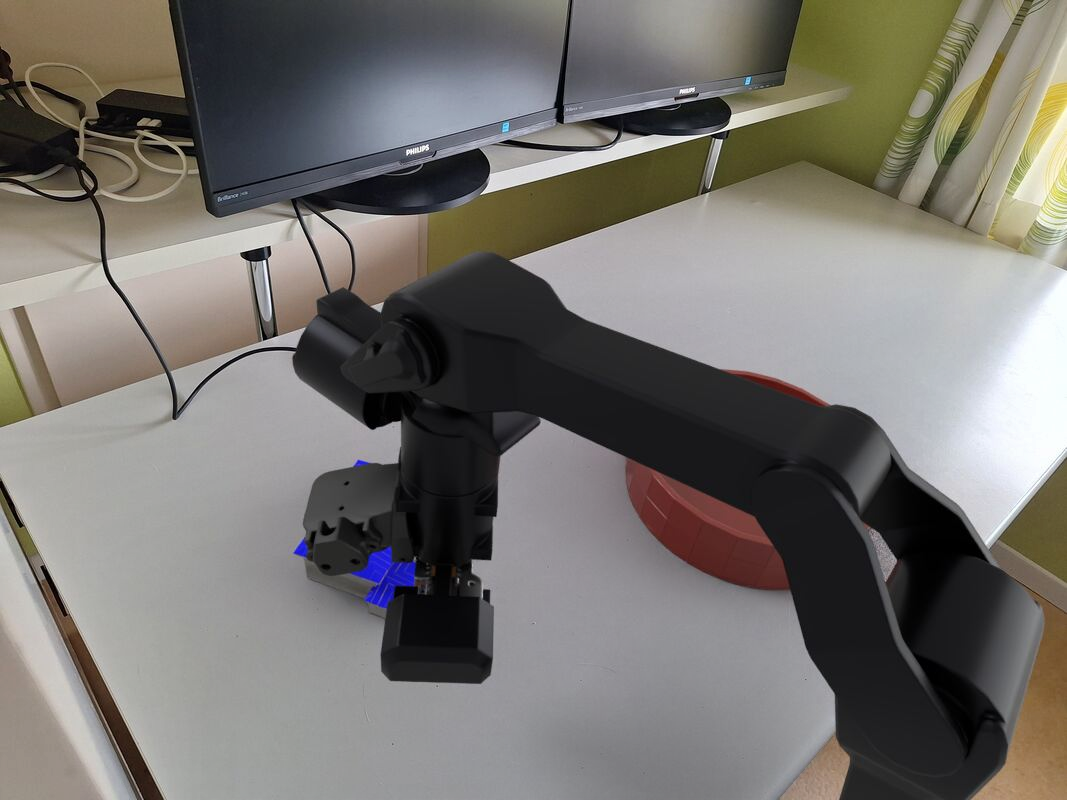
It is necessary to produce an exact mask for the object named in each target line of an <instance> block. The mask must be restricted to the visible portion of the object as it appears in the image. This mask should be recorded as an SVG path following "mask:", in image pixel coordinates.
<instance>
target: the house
mask: <svg viewBox="0 0 1067 800" xmlns="http://www.w3.org/2000/svg"><path fill="white" fill-rule="evenodd" d="M370 463H371V462H369V461H365V460H362V459H357V460H356V461H355V463H354V465H353V466H352V467H354V466H360V465H365V464H370ZM304 539H305V536H304V537H303V539H302V540H301V541H300V542H299V544H298V545H297V547H296V549H295V550H294V551H293V555H294V556H298V557H300V558H303V560H304V568H305V574H306V575H305V576H306V578H307V579H309V580H312V581H315V582H318V583H321V584H324V585H325V586H329V587H331V588H334V589H337V590H340V591H342V592H345V593H348V594H351V595H353V596H356V597H359V598H362V599H364V600H363V601H364V602H367V603H368V613H370V614H372V615H375V616H378V617H381V618H384V619H385V618H386V611H387V604H388V602H389V601H391V600H393V596H394V588H395V585H399V586H414V580H415V579H414V574H415V565H416V561H413V562H412V563H398V562H392V558H391V547H388V548H387V549H385V550H383V551H380V552H376V553H372V554H371V555H370V557H369V560H368V566H367V567H366V569H365V570H363V571H360V572H354V573H348V574H343V575H337V576H328V575H324V574H322V573H321V572H320V570H319V569H318V568H317V566H316V565H315V563H314V562H311V561H309V560H307V558H306V554H307V550H308V549H307V545H306V544H305V543H304Z"/></svg>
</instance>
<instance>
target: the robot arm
mask: <svg viewBox="0 0 1067 800" xmlns="http://www.w3.org/2000/svg"><path fill="white" fill-rule="evenodd" d="M316 311H317V313H316V316H314V317H313V319H311V321H310V322H309V323H308V324H307V326H306V327H305V329H304V331H302V333H301V335H300V337H299V339H298V342H297V345H296V348H295V352H294V353H293V354H292V357H291V359H292V360H291V361H292V368H293V371H294V373H295V375H296V376H297V378H298V379H299V380H300V381H301V382H303V383H304V384H306V385H307V386H309V387H310V388H311V389H313V390H314V391H316V392H317V393H318V394H319V395H321V396H323V397H324V398H326V399H327V400H328V401H330V402H331V403H333V404H334V405H336V406H337V408H340V409H341V410H342V411H344V412H345V413H347V414H348V415H350V416H351V417H352V418H353V419H355V420H357V421H358V422H359V423H361V424H362V425H364V426H365V427H366V428H368V429H369V430H371V431H375V430H377V429H378V428H383V427H386V426H388V425H390V424H392V423H398V422H400V447H399V450H398V451H399V453H398V460H397V462H394V463H384V464H382V463H379V462H369V463H370V464H365V465H360V466H354V465H353V466H354V467H353V466H350V467H349V466H348V467H345V468H339V469H335V470H334V469H333V470H329V471H326V472H324V473H322V474H320V475H319V476H318V477H317V478H315V480H314V481H313V483H312V485H311V489H310V492H309V496H308V500H307V503H306V509H305V512H304V516H303V520H302V527H303V529H304V530H305V534H304V537H305V539H304V538H303V539H304V543H305V544H306V545H307V549H308V550H307V554H306V558H307V560H309V561H311V562H314V563H315V565H316V566H317V568H318V569H319V570H320V572H321V573H322V574H324V575H328V576H337V575H343V574H348V573H354V572H360V571H363V570H365V569H366V567H367V566H368V560H369V557H370V555H371V554H372V553H376V552H380V551H383V550H385V549H387V548H388V547H391V558H392V562H398V563H412V562H414V558H415V562H416V565H415V574H414V579H415V581H417V582H427V583H426V586H425V585H419V586H399V585H395V588H394V596H393V600H391V601H389V602H388V604H387V611H386V618H384V627H383V634H382V640H381V647H380V672H381V673H382V675H384V676H385V677H386V678H387V679H388V681H389V682H404V683H405V682H407V683H434V684H436V683H437V684H466V685H467V684H470V685H482V683H484V682H485V681H486V680H487V679H488V678H489V677H491V675H492V669H493V660H494V625H495V623H494V622H495V620H494V619H495V614H494V613H495V606H494V605H492V604H491V589H488V588H487V589H486V588H484V582H483V579H482V578H481V577H480V576H479V575H476V574H475V573H474V567H473V566H474V560H475V561H477V560H478V561H492V557H493V542H494V540H493V539H494V524H493V523H494V518H497V517H498V516H497V515H498V508H499V473H500V464H501V457H502V456H503V455H504V454H506V453H507V452H508V451H509V450H510V449H512V448H513V447H514V446H515V445H516V444H518V443H519V442H520V441H522V440H523V439H524V438H526V437H527V436H528V435H529V434H530V433H531V432H533V431H534V430H535V429H537V428H538V427H539V426H541V423H542V422H541V421H542V420H541V419H543V420H545V421H547V422H549V423H552V424H553V425H555V426H558V427H559V428H562V429H564V430H567V431H569V432H571V433H573V434H575V435H577V436H578V437H579V436H580V437H582V438H584V439H586V440H588V441H590V442H592V443H594V444H597V445H599V446H600V447H603V448H604V449H608V450H609V451H611V452H614V453H616V454H618V455H619V456H622V457H624V458H626V459H627V458H629V459H631V460H633V461H635V462H637V463H640V464H642V465H644V466H646V467H648V468H650V469H652V470H655V471H657V472H659V473H661V474H663V475H665V476H668V477H670V478H672V479H674V480H676V481H678V482H680V483H683V484H685V485H687V486H689V487H691V488H693V489H696V490H698V491H700V492H702V493H704V494H706V495H708V496H711V497H713V498H715V499H717V500H719V501H721V502H724V503H726V504H728V505H730V506H732V507H734V508H737V509H739V510H741V511H743V512H745V513H747V514H749V515H752V516H754V517H755V518H756V520H757V522H758V524H759V525H760V527H761V528H762V530H763V531H764V533H765V534H766V536H767V537H768V539H769V540H770V542H771V543H772V545H773V546H774V548H775V549H776V551H777V552H778V554H779V555H780V557H781V558H782V561H783V564H784V568H785V572H786V575H787V579H788V583H789V587H790V594H791V597H792V602H793V606H794V610H795V613H796V616H797V620H798V624H799V628H800V631H801V635H802V639H803V643H804V647H805V649H806V651H807V654H808V656H809V658H810V660H811V662H813V663H812V664H814V665H815V667H816V668H817V670H818V672H819V673H820V675H821V676H822V677H823V680H825V682H826V683H827V685H828V686H829V688H830V690H831V691H832V692H833V694H834V719H835V721H834V722H835V723H834V724H835V726H834V727H835V739H836V741H837V743H838V745H839V747H840V748H841V749H842V751H844V753H845V754H846V755H847V756H848V757H849V765H848V769H847V772H846V774H845V778H844V782H843V785H842V788H841V792H840V796H839V798H838V800H973V798H974V797H975V796H977V795H978V794H979V793H980V791H982V790H983V789H984V788H985V787H986V785H988V784H989V783H990V782H991V781H992V780H993V779H994V778H995V777H996V776H997V775H998V774H999V773H1000V772H1001V771H1002V769H1003V768H1004V766H1005V765H1006V762H1007V760H1008V755H1009V753H1010V749H1011V745H1012V742H1013V739H1014V735H1015V733H1016V728H1017V725H1018V721H1019V718H1020V714H1021V711H1022V707H1023V704H1024V702H1025V701H1024V700H1025V697H1026V694H1027V690H1028V686H1029V683H1030V681H1031V676H1032V673H1033V669H1034V666H1035V662H1036V660H1037V657H1038V652H1039V650H1040V646H1041V642H1042V638H1043V636H1044V632H1045V631H1044V629H1045V623H1046V617H1045V614H1044V610H1043V606H1042V605H1041V603H1039V602H1038V601H1037V600H1035V599H1033V597H1032V595H1031V594H1030V593H1029V591H1028V590H1027V589H1026V587H1025V586H1024V585H1022V583H1020V582H1019V581H1018V580H1016V579H1015V578H1014V577H1012V576H1011V575H1010V574H1009V573H1008V572H1006V571H1005V570H1003V569H1002V568H1001V567H1000V565H999V563H998V561H997V560H996V559H995V557H994V555H993V554H992V552H991V551H990V550H989V548H988V546H987V545H986V543H985V542H984V540H983V539H982V537H981V535H980V534H979V532H978V531H977V529H976V527H975V526H974V525H973V523H972V522H971V520H970V518H969V517H968V515H967V513H966V512H965V511H964V510H963V508H962V507H961V506H960V505H959V504H958V503H957V502H956V501H954V500H953V499H952V498H950V497H949V496H947V495H946V494H944V493H943V492H942V491H941V490H939V489H938V488H936V487H935V486H934V485H932V484H931V483H930V482H928V481H927V480H926V479H924V478H923V477H922V476H920V475H919V474H918V473H916V472H915V471H913V470H912V469H911V468H910V467H909V466H908V465H907V464H906V462H905V461H904V459H903V457H902V456H901V454H900V453H899V451H898V449H897V448H896V447H895V445H894V443H893V442H892V441H891V439H890V438H889V435H888V434H887V432H886V431H885V430H884V429H883V428H882V427H881V426H880V425H879V424H878V422H877V421H876V420H875V419H874V418H873V417H872V416H871V415H869V414H867V413H865V412H863V411H862V410H860V409H858V408H856V407H852V406H848V405H843V404H838V403H835V404H830V405H829V406H820V405H816V404H813V403H810V402H807V401H805V400H802V399H799V398H797V397H794V396H791V395H788V394H786V393H783V392H780V391H778V390H775V389H772V388H769V387H767V386H764V385H761V384H759V383H756V382H753V381H750V380H748V379H745V378H742V377H740V376H737V375H734V374H731V373H729V372H726V371H723V370H721V369H722V368H718V367H715V366H713V365H711V364H708V363H704V362H701V361H699V360H696V359H693V358H691V357H688V356H685V355H683V354H679V353H677V352H674V351H671V350H668V349H666V348H663V347H661V346H658V345H656V344H653V343H650V342H647V341H645V340H641V339H639V338H636V337H634V336H631V335H628V334H626V333H623V332H620V331H618V330H615V329H612V328H609V327H606V326H604V325H601V324H598V323H596V322H593V321H590V320H588V319H585V318H583V317H582V316H580V315H578V314H577V313H574V312H573V311H571V310H569V309H567V307H566V305H565V304H564V302H562V300H561V299H560V297H559V296H558V294H557V293H556V291H555V290H554V288H553V286H552V285H551V284H550V283H549V282H548V281H546V280H545V279H544V278H542V277H541V276H539V275H536V274H535V273H533V272H532V271H529V270H527V269H526V268H524V267H522V266H520V265H519V264H517V263H515V262H513V261H511V260H510V259H508V258H506V257H504V256H502V255H500V254H497V252H492V251H486V250H477V251H473V252H471V253H469V254H466V255H465V256H463V257H461V258H459V259H457V260H454V261H452V262H451V263H449V264H447V265H445V266H443V267H440V268H439V269H437V270H435V271H433V272H431V273H429V274H427V275H425V276H423V277H421V278H419V279H418V280H417V279H416V281H414V282H413V281H412V282H411V283H409V284H407V285H405V286H403V287H402V288H400V289H398V290H396V291H394V292H392V293H391V294H388V297H386V299H384V300H383V304H382V307H381V311H379V310H378V309H375V308H374V307H373V306H371V305H370V304H368V303H366V302H365V301H364V300H363V299H361V297H359V296H358V295H357V294H356V293H354V292H352V291H351V290H349V289H347V288H346V287H344V286H342V287H340V288H338V289H336V290H334V291H332V292H330V293H327V294H326V295H325V294H324V295H323V296H321V297H319V298H317V299H316ZM862 522H863V523H865V524H866V525H868V526H869V527H871V528H872V529H871V530H874V531H875V532H877V534H879V535H880V538H881V539H882V541H883V542H884V543H885V545H886V546H887V548H888V549H889V551H890V552H891V554H892V555H893V557H894V558H895V560H896V562H895V564H894V566H893V567H892V570H891V572H890V573H889V575H888V577H887V579H885V576H884V572H883V568H882V566H881V562H880V558H879V556H878V552H877V549H876V546H875V543H874V541H873V538H872V536H871V534H870V532H868V530H867V529H866V527H865V526H864V524H863V523H862ZM431 565H432V566H436V568H435V576H431V570H432V566H431ZM452 567H457V568H456V572H457V573H456V577H452ZM472 570H473V571H472ZM459 579H460V584H459Z"/></svg>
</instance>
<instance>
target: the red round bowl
mask: <svg viewBox="0 0 1067 800" xmlns="http://www.w3.org/2000/svg"><path fill="white" fill-rule="evenodd" d="M720 369H721V370H723V371H726V372H729V373H731V374H734V375H737V376H740V377H742V378H745V379H748V380H750V381H753V382H756V383H759V384H761V385H764V386H767V387H769V388H772V389H775V390H778V391H780V392H783V393H786V394H788V395H791V396H794V397H797V398H799V399H802V400H805V401H807V402H810V403H813V404H816V405H820V406H829V405H831V404H830V403H829V402H827V401H825V400H823V399H822V398H820V397H817V395H815V394H813V393H811V392H810V391H808V390H806V389H804V388H802V387H799V386H797V385H794V384H792V383H789V382H787V381H784V380H782V379H779V378H777V377H773V376H768V375H765V374H761V373H757V372H752V371H749V370H738V369H726V368H720ZM624 478H625V484H626V490H627V494H628V497H629V500H630V502H631V504H632V507H633V509H634V510H635V512H636V514H637V516H638V517H639V519H640V520H641V522H642V523H643V525H644V526H645V527H646V529H647V530H648V531H649V532H650V533H651V534H652V535H653V536H654V538H655V539H657V541H658V542H659V543H660V544H661V545H663V546H664V547H665V548H666V549H667V550H669V551H670V552H671V553H672V554H673V555H675V556H677V557H678V558H679V559H681V560H682V561H683V562H685V563H686V564H689V565H690V566H692V567H694V568H695V569H697V570H699V571H701V572H702V573H705V574H707V575H710V576H712V577H715V578H717V579H719V580H721V581H724V582H728V583H731V584H734V585H739V586H741V587H747V588H752V589H758V590H767V591H789V590H790V587H789V583H788V579H787V575H786V572H785V568H784V564H783V561H782V558H781V557H780V555H779V554H778V552H777V551H776V549H775V548H774V546H773V545H772V543H771V542H770V540H769V539H768V537H767V536H766V534H765V533H764V531H763V530H762V528H761V527H760V525H759V524H758V522H757V520H756V518H755V517H754V516H752V515H749V514H747V513H745V512H743V511H741V510H739V509H737V508H734V507H732V506H730V505H728V504H726V503H724V502H721V501H719V500H717V499H715V498H713V497H711V496H708V495H706V494H704V493H702V492H700V491H698V490H696V489H693V488H691V487H689V486H687V485H685V484H683V483H680V482H678V481H676V480H674V479H672V478H670V477H668V476H665V475H663V474H661V473H659V472H657V471H655V470H652V469H650V468H648V467H646V466H644V465H642V464H640V463H637V462H635V461H633V460H631V459H629V458H627V457H626V460H625V466H624ZM862 523H863V522H862ZM863 524H864V526H865V527H866V529H867V530H868V532H869V533H870V532H871V530H873V529H872V528H871V527H869V526H868V525H866V524H865V523H863ZM790 591H791V590H790Z"/></svg>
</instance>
